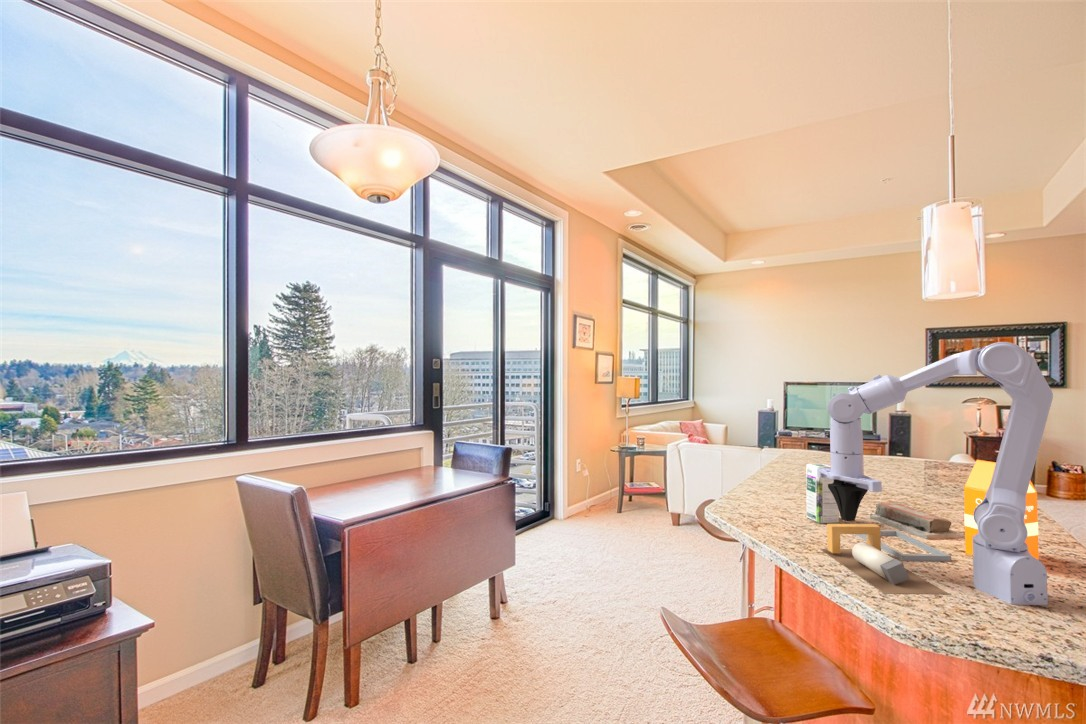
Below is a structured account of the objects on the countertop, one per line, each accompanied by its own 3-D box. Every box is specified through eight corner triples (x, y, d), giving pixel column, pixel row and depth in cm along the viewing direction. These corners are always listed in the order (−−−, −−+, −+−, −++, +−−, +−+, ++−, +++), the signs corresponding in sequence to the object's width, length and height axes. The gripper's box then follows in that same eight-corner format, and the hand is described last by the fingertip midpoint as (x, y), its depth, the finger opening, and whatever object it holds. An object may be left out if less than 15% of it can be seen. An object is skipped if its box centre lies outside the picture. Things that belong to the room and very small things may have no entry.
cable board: (950, 600, 87) (950, 594, 87) (884, 599, 87) (884, 593, 87) (872, 554, 109) (872, 549, 109) (820, 553, 109) (819, 548, 109)
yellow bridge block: (881, 553, 105) (880, 527, 105) (832, 553, 105) (832, 526, 105) (875, 550, 107) (874, 524, 107) (827, 549, 107) (827, 523, 107)
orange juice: (1012, 568, 100) (1009, 467, 101) (964, 553, 109) (962, 460, 109) (1039, 564, 102) (1037, 465, 103) (991, 550, 111) (988, 458, 111)
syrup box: (805, 517, 136) (804, 463, 137) (826, 516, 137) (825, 463, 137) (819, 523, 131) (818, 467, 131) (840, 523, 131) (839, 466, 131)
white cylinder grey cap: (913, 579, 90) (903, 559, 91) (892, 588, 91) (883, 568, 91) (875, 557, 101) (867, 539, 102) (857, 565, 102) (848, 546, 102)
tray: (951, 565, 102) (951, 555, 102) (902, 565, 102) (902, 555, 102) (897, 538, 119) (897, 530, 119) (855, 538, 119) (855, 529, 119)
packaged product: (867, 501, 136) (901, 500, 137) (868, 519, 136) (901, 518, 137) (926, 520, 118) (964, 519, 119) (926, 541, 118) (964, 539, 119)
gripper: (804, 448, 109) (805, 511, 109) (858, 459, 95) (860, 532, 94) (832, 446, 110) (834, 509, 110) (890, 457, 96) (892, 529, 96)
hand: (848, 520), depth 102 cm, fingers closed
